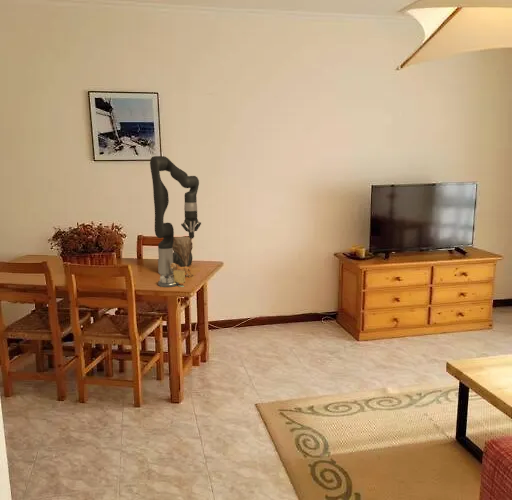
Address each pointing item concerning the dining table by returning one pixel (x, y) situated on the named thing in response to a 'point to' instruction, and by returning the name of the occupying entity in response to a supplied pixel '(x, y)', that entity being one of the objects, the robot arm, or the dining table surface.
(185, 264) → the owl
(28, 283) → the dining table surface
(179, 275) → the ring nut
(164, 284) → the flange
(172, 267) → the lion figurine
